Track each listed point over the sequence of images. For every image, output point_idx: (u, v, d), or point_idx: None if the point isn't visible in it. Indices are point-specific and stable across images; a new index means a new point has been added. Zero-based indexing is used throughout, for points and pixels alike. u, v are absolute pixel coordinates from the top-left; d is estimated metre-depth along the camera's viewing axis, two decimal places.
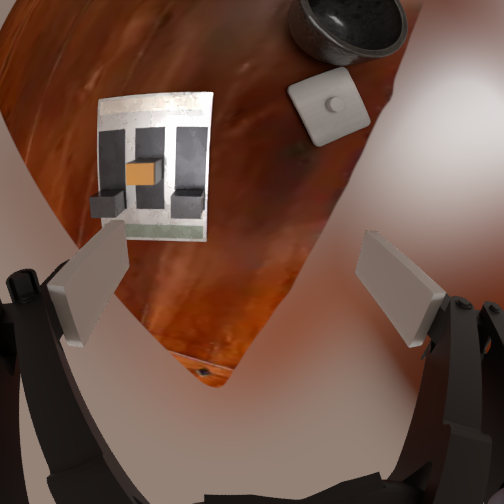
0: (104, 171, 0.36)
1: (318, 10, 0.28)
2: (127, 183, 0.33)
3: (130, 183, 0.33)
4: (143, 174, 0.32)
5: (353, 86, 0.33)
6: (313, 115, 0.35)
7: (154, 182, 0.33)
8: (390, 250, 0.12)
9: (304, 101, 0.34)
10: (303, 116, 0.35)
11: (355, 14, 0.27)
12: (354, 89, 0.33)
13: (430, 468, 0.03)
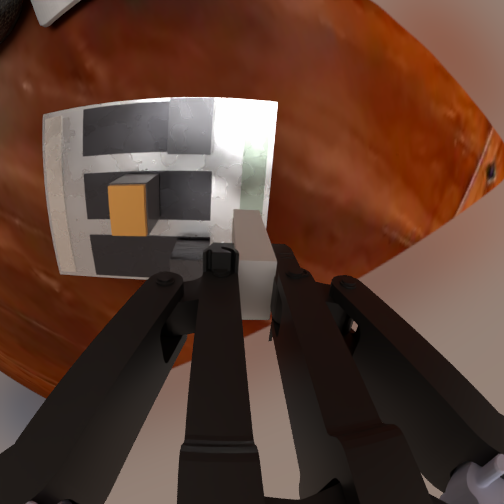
0: (150, 268, 0.26)
1: None
2: (142, 234, 0.19)
3: (142, 228, 0.19)
4: (126, 204, 0.18)
5: None
6: None
7: (141, 184, 0.18)
8: (252, 225, 0.14)
9: (58, 2, 0.12)
10: None
11: None
12: None
13: None
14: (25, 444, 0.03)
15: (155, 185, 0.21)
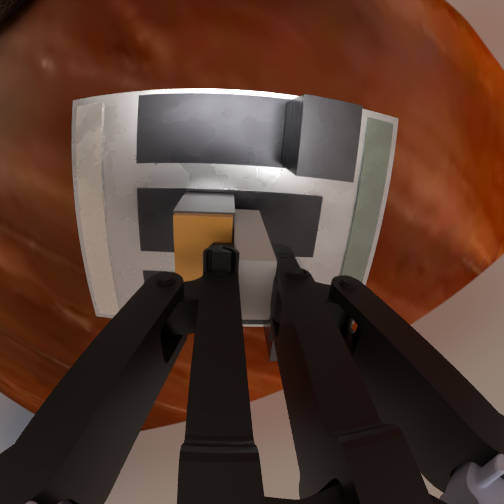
0: None
1: None
2: None
3: None
4: (202, 243, 0.13)
5: None
6: None
7: (227, 215, 0.13)
8: (252, 225, 0.14)
9: None
10: None
11: None
12: None
13: None
14: (25, 444, 0.03)
15: None
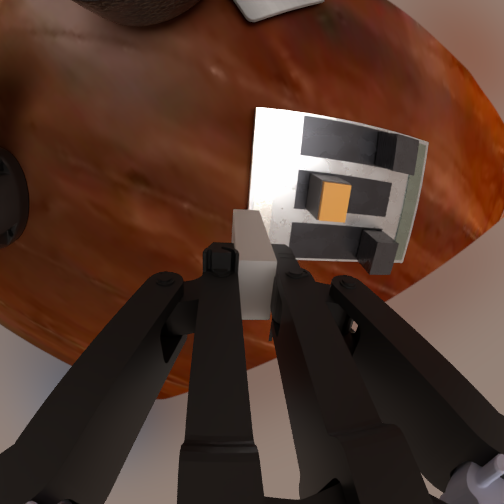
0: (336, 251, 0.33)
1: None
2: (343, 220, 0.27)
3: (343, 216, 0.26)
4: (336, 197, 0.26)
5: None
6: None
7: (347, 184, 0.25)
8: (252, 225, 0.14)
9: (268, 4, 0.20)
10: (289, 6, 0.20)
11: None
12: None
13: None
14: (25, 444, 0.03)
15: None
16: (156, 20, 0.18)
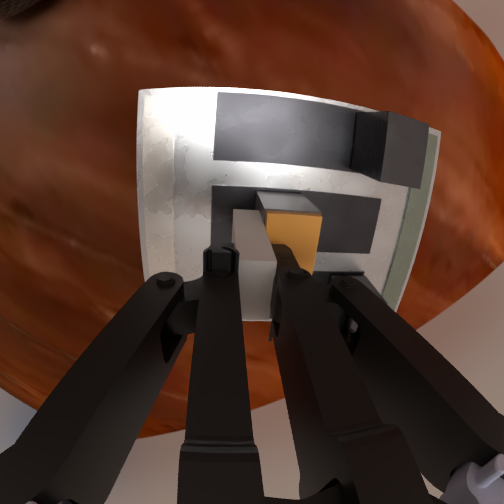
0: None
1: None
2: None
3: None
4: (292, 240, 0.14)
5: None
6: None
7: (315, 214, 0.14)
8: (252, 225, 0.14)
9: None
10: None
11: None
12: None
13: None
14: (25, 444, 0.03)
15: None
16: (16, 4, 0.07)
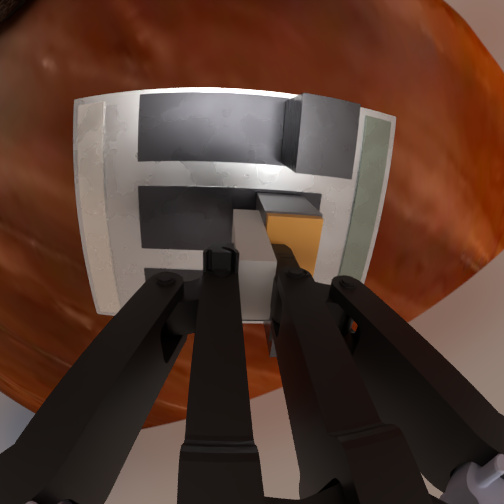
0: None
1: None
2: None
3: None
4: (293, 243, 0.14)
5: None
6: None
7: (316, 216, 0.14)
8: (252, 225, 0.14)
9: None
10: None
11: None
12: None
13: None
14: (25, 444, 0.03)
15: None
16: None
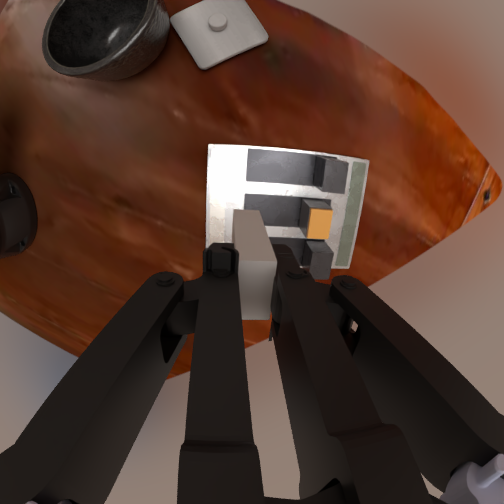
0: None
1: (103, 54, 0.26)
2: (326, 237, 0.35)
3: (327, 234, 0.34)
4: (321, 220, 0.34)
5: (192, 7, 0.24)
6: (232, 42, 0.27)
7: (330, 209, 0.33)
8: (252, 225, 0.14)
9: (216, 52, 0.28)
10: (234, 52, 0.28)
11: (102, 20, 0.22)
12: (196, 6, 0.24)
13: None
14: (25, 444, 0.03)
15: None
16: (125, 77, 0.26)
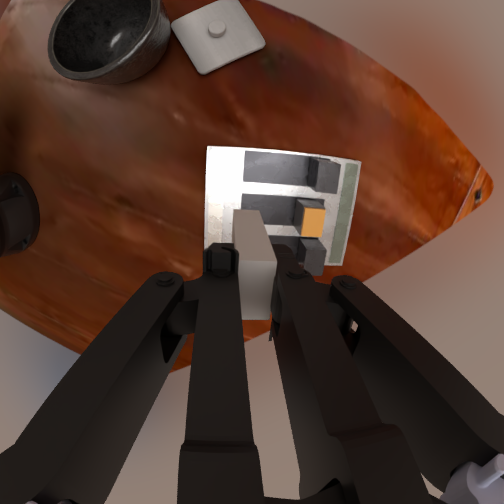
0: None
1: (105, 58, 0.28)
2: (319, 235, 0.36)
3: (320, 232, 0.36)
4: (314, 219, 0.35)
5: (192, 13, 0.26)
6: (231, 48, 0.29)
7: (323, 208, 0.35)
8: (252, 225, 0.14)
9: (215, 57, 0.29)
10: (232, 58, 0.29)
11: (105, 24, 0.24)
12: (196, 13, 0.26)
13: None
14: (25, 444, 0.03)
15: None
16: (128, 81, 0.28)
